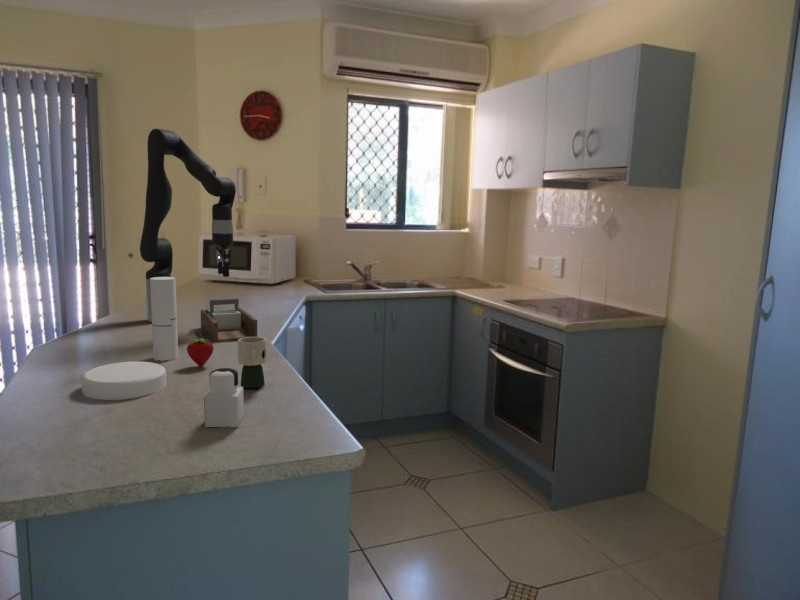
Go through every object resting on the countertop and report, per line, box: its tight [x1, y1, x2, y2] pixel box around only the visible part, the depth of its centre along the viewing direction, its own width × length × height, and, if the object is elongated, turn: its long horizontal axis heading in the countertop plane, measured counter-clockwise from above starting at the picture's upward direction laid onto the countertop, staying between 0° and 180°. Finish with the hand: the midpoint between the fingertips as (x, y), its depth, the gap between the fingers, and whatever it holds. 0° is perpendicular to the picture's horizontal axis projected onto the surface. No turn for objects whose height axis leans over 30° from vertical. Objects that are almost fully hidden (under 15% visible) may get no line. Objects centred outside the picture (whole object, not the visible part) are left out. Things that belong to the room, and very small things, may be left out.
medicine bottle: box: [203, 367, 245, 428], centre depth 127 cm, size 7×7×12 cm
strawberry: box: [186, 334, 215, 367], centre depth 169 cm, size 6×8×10 cm
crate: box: [207, 297, 241, 330], centre depth 217 cm, size 10×10×11 cm
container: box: [80, 361, 167, 401], centre depth 149 cm, size 20×20×5 cm
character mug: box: [237, 336, 267, 389], centre depth 152 cm, size 11×7×13 cm, turn 18°
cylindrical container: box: [150, 276, 179, 362], centre depth 176 cm, size 7×7×25 cm
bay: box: [200, 307, 258, 343], centre depth 213 cm, size 15×26×7 cm, turn 29°
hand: (223, 275), depth 215 cm, fingers open, 8 cm apart
